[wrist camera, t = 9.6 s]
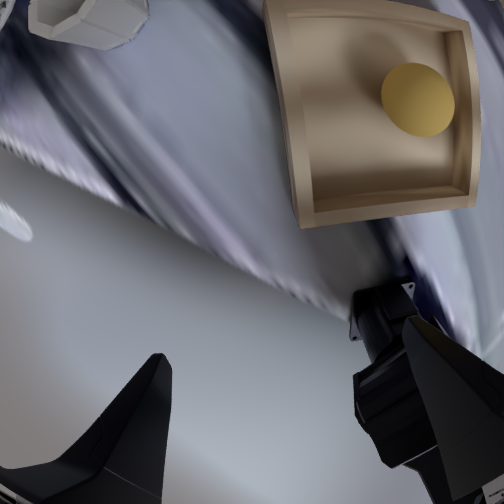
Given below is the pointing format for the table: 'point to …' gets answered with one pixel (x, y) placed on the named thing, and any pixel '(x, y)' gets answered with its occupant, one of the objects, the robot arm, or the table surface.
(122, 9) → the cup
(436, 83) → the ball
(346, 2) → the tray
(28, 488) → the robot arm
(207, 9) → the table surface
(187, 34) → the table surface
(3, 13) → the decorative candle
